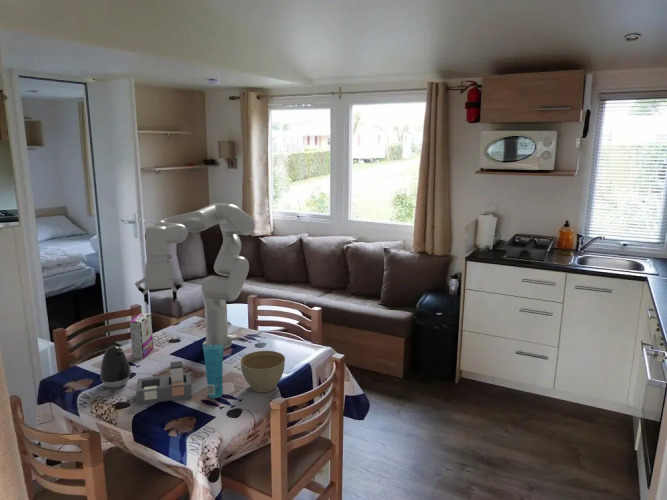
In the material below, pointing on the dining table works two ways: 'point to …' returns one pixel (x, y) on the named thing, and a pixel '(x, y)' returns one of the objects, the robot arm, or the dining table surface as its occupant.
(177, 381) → the plug
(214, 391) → the tube
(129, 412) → the dining table surface
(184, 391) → the socket box
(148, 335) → the candy bar box
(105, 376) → the dark grey egg
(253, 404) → the dining table surface
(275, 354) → the planter bowl
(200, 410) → the dining table surface
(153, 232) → the robot arm
